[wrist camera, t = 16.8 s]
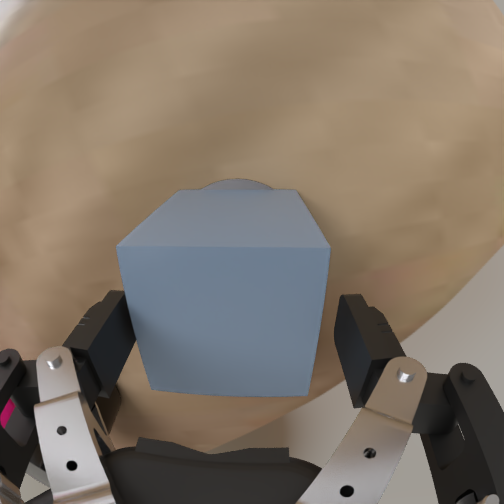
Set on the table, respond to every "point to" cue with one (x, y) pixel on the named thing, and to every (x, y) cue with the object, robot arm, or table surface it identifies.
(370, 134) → the table surface
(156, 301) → the blue gray block
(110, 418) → the ink bottle
